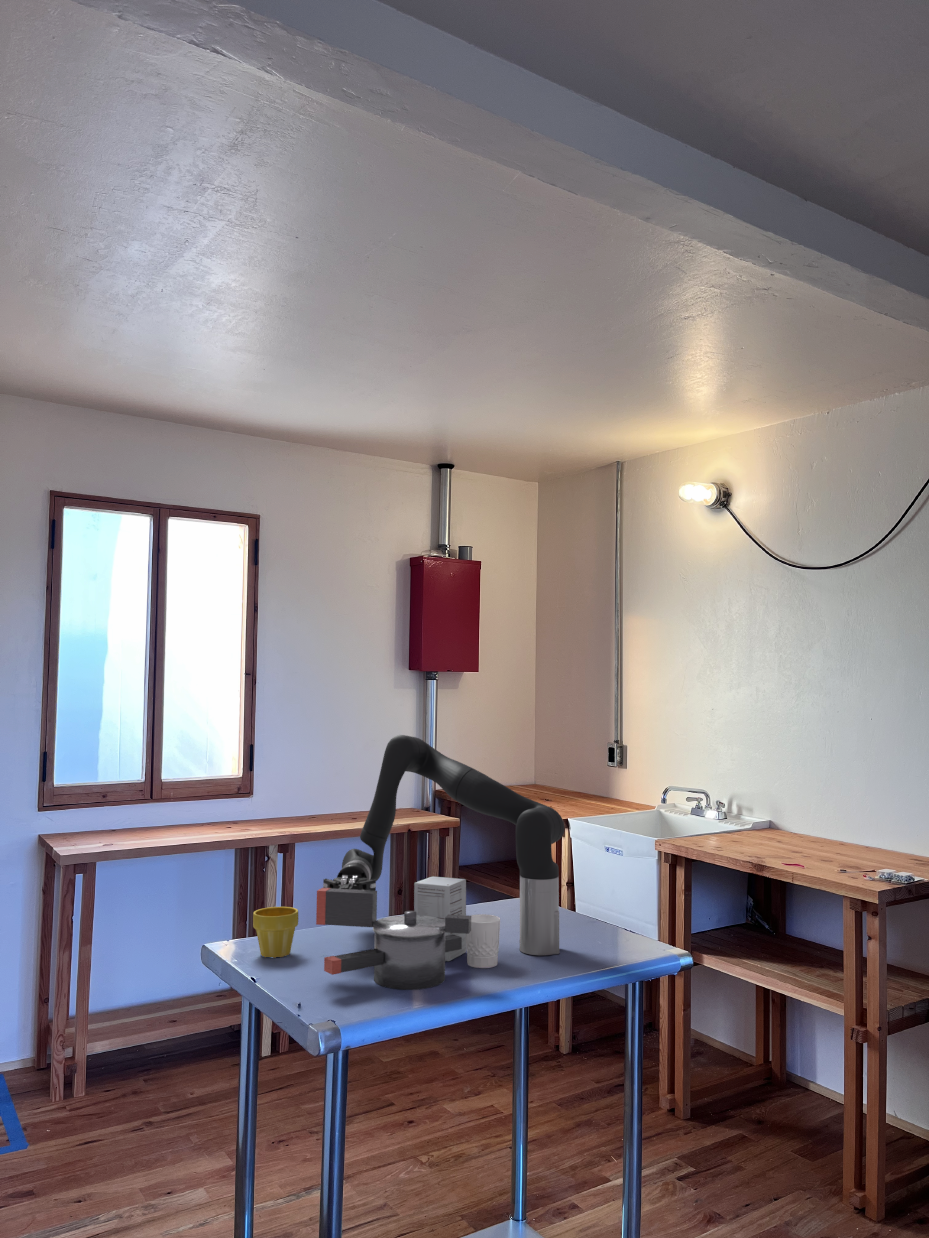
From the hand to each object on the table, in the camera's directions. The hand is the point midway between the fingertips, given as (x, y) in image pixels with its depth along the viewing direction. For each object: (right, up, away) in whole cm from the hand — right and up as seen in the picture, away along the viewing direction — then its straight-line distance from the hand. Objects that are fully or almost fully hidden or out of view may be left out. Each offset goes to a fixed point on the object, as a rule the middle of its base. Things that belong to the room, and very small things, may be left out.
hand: (344, 892), depth 205 cm
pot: (+13, -14, -14) cm, 24 cm away
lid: (+12, -4, -10) cm, 16 cm away
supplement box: (+21, -17, +6) cm, 28 cm away
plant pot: (-17, -16, +5) cm, 24 cm away
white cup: (+31, -16, -1) cm, 35 cm away
